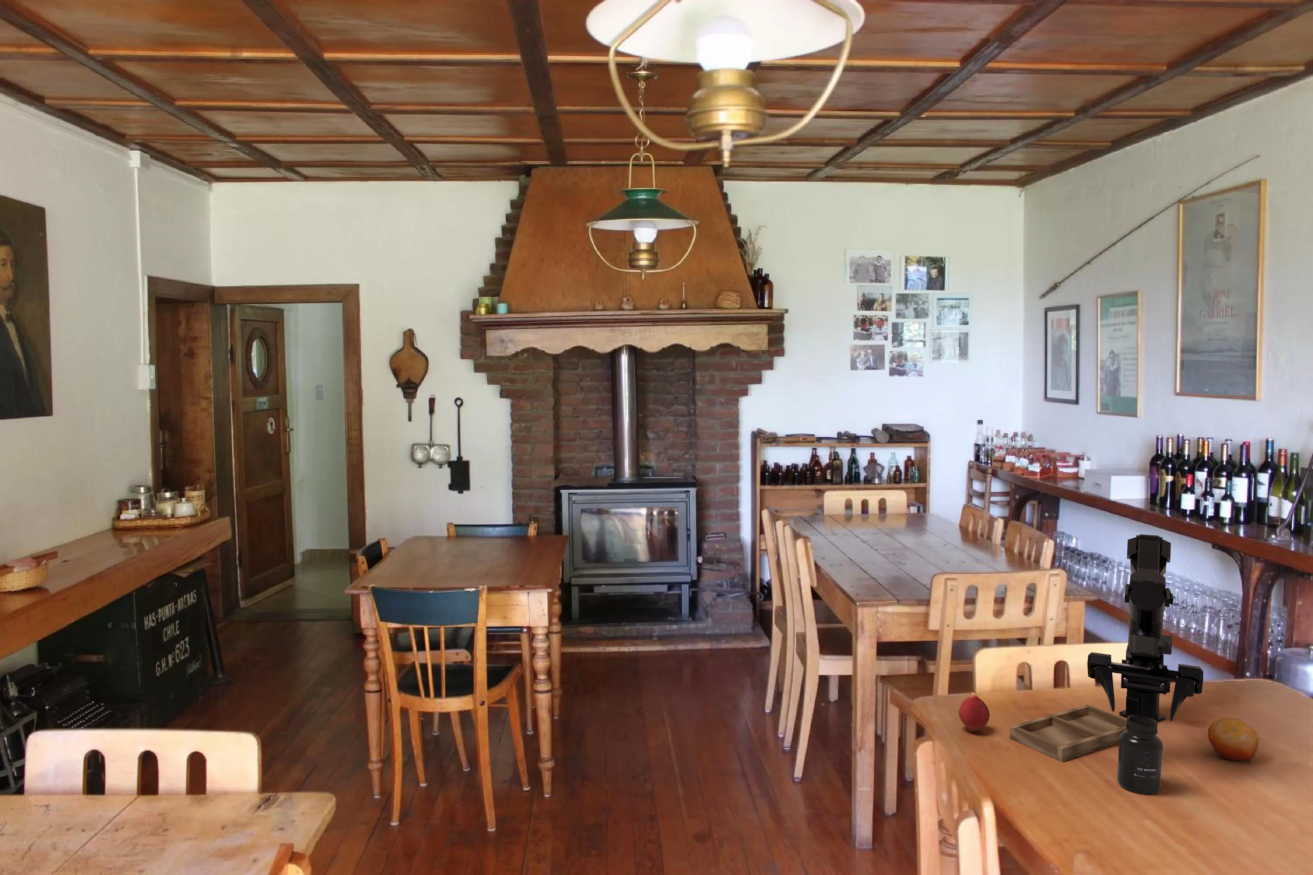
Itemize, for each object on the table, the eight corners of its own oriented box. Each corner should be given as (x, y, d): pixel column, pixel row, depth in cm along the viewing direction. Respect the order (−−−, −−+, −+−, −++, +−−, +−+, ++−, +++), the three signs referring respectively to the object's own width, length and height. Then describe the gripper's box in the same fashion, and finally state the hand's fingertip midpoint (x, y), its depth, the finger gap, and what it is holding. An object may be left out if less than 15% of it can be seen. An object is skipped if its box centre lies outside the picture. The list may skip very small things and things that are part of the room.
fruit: (1252, 740, 176) (1257, 713, 172) (1257, 776, 170) (1262, 749, 166) (1203, 733, 180) (1207, 707, 175) (1206, 768, 174) (1210, 741, 169)
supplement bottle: (1144, 798, 157) (1147, 730, 156) (1108, 782, 163) (1110, 716, 162) (1169, 789, 160) (1172, 723, 159) (1133, 773, 166) (1136, 709, 165)
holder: (1086, 715, 192) (1087, 704, 192) (1140, 736, 182) (1140, 724, 182) (1009, 738, 182) (1010, 726, 181) (1061, 761, 171) (1062, 748, 171)
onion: (984, 725, 188) (985, 687, 187) (992, 737, 182) (993, 698, 181) (955, 724, 188) (956, 687, 188) (962, 736, 183) (963, 697, 182)
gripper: (1089, 609, 172) (1083, 685, 163) (1205, 623, 163) (1205, 703, 154) (1091, 639, 180) (1085, 713, 171) (1201, 653, 171) (1201, 732, 162)
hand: (1141, 715), depth 164 cm, fingers open, 9 cm apart
